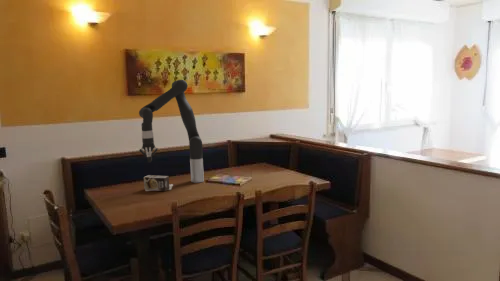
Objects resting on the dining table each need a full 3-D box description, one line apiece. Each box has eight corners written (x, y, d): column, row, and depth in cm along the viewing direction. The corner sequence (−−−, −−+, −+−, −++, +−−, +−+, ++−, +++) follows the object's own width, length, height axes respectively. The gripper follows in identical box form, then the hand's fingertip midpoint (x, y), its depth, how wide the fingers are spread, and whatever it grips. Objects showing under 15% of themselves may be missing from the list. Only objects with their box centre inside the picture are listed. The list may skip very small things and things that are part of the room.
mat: (173, 184, 281) (173, 184, 281) (170, 189, 268) (170, 189, 268) (149, 186, 280) (148, 185, 279) (145, 190, 267) (145, 190, 267)
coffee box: (143, 177, 266) (164, 178, 261) (148, 174, 272) (169, 175, 267) (144, 190, 268) (165, 191, 263) (149, 187, 274) (169, 188, 269)
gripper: (158, 135, 271) (160, 160, 274) (138, 136, 270) (141, 161, 273) (156, 137, 264) (158, 162, 266) (136, 138, 263) (138, 163, 265)
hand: (149, 162), depth 269 cm, fingers closed
